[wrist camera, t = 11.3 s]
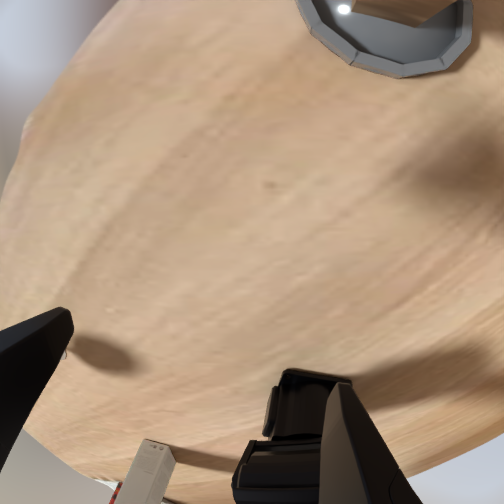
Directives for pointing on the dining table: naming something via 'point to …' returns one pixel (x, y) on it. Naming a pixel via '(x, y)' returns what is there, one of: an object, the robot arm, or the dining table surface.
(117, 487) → the deodorant
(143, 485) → the skincare box
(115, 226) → the dining table surface
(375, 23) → the dish
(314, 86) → the dining table surface
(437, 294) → the dining table surface
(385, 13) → the walnut post
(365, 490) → the robot arm
